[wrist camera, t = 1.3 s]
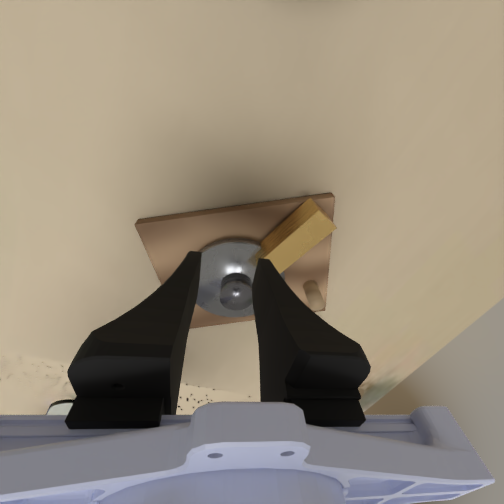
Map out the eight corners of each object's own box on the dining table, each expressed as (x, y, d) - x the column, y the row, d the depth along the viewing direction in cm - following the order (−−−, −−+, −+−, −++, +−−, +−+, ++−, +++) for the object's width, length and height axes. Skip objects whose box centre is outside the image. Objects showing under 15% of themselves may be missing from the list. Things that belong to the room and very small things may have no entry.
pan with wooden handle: (240, 322, 30) (240, 343, 27) (168, 282, 25) (161, 304, 23) (349, 237, 24) (363, 255, 21) (280, 167, 19) (287, 179, 17)
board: (322, 304, 31) (333, 330, 28) (183, 323, 31) (177, 351, 28) (331, 192, 22) (348, 211, 19) (138, 219, 23) (122, 242, 19)
